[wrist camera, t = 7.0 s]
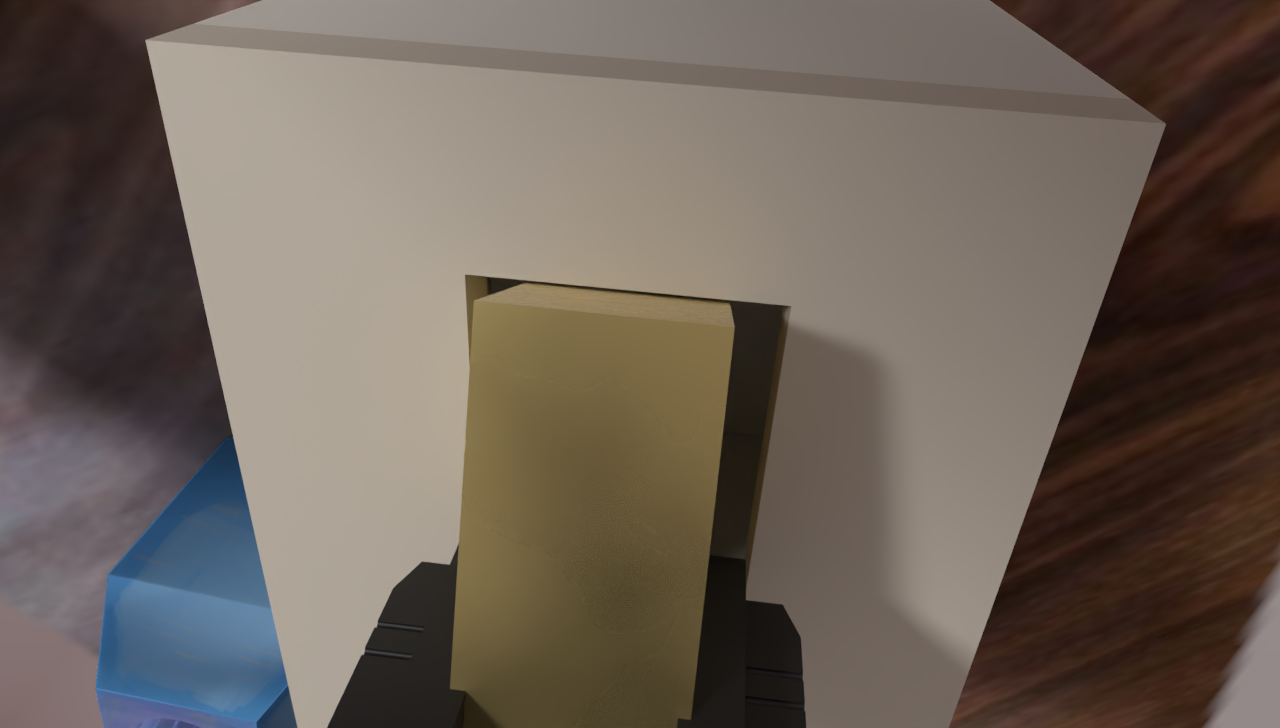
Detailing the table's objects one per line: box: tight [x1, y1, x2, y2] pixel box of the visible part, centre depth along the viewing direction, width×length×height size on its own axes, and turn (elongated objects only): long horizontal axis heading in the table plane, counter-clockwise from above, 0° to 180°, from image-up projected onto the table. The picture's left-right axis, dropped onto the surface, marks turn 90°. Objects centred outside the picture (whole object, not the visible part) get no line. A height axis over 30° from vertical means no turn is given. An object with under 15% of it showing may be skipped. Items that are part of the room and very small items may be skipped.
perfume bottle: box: [95, 437, 297, 728], centre depth 25 cm, size 6×6×12 cm
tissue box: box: [145, 0, 1166, 728], centre depth 18 cm, size 13×11×12 cm
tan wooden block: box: [450, 281, 735, 728], centre depth 11 cm, size 6×2×5 cm, turn 177°
